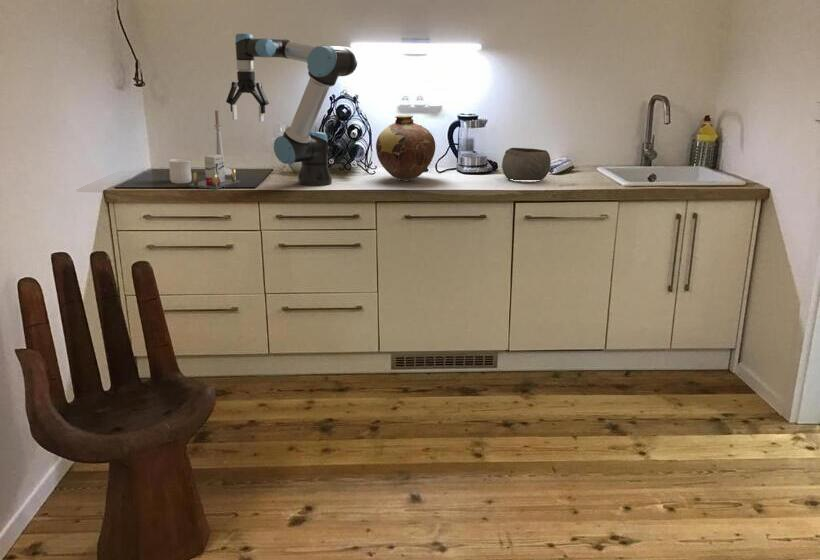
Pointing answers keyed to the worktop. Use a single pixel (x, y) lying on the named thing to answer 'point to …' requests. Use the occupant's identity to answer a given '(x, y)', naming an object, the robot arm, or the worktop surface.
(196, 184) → the chassis
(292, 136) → the robot arm
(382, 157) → the vase
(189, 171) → the cup
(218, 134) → the candlestick
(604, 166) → the worktop surface
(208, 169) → the ink box
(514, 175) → the bowl
